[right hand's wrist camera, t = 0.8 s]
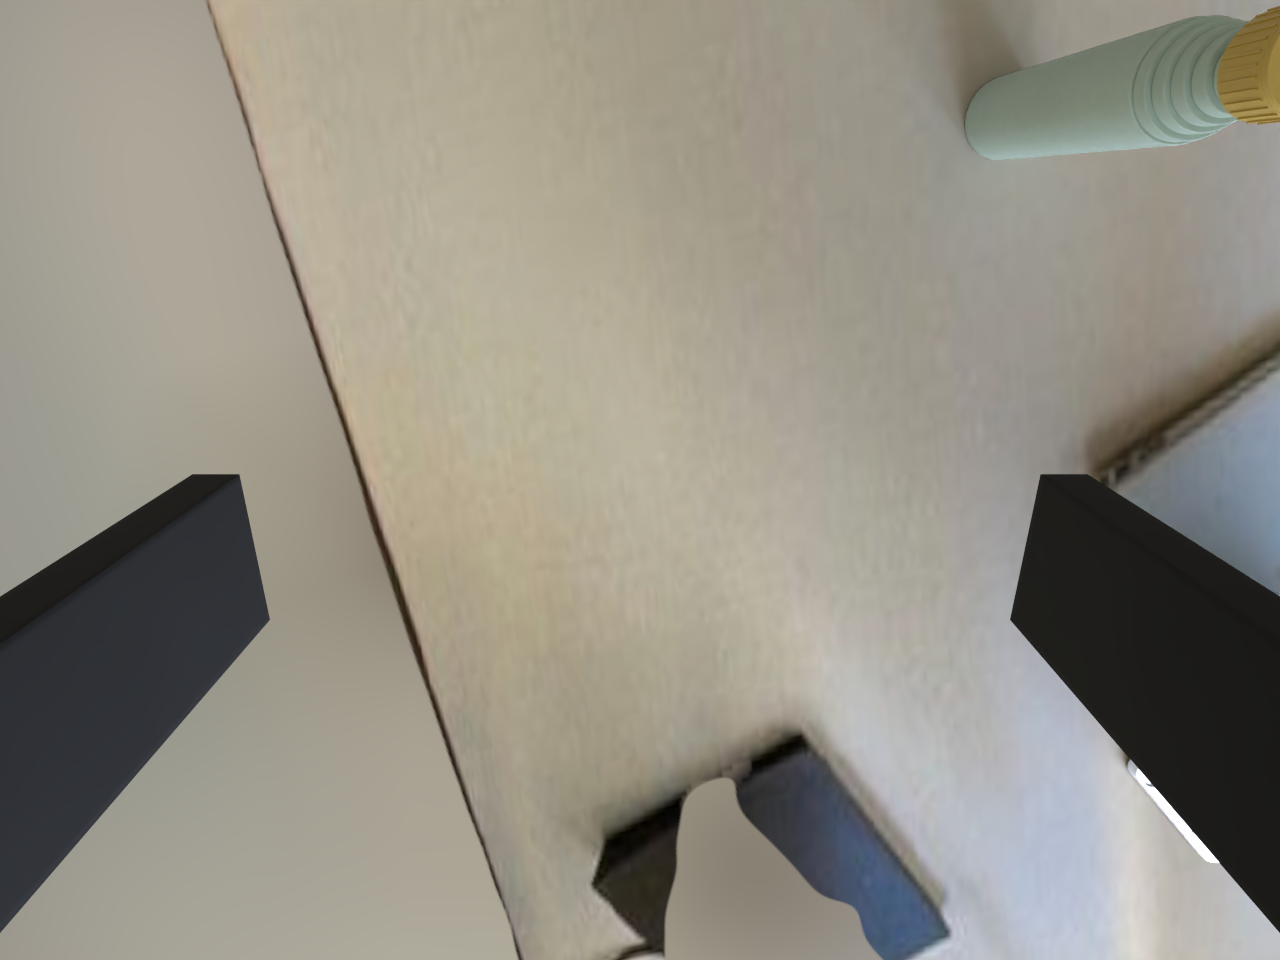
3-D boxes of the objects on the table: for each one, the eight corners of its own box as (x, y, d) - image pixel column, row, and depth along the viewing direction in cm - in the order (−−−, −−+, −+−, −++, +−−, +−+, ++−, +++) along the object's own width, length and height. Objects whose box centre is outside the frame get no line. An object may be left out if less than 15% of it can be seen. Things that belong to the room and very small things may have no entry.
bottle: (1054, 86, 46) (1420, -5, 25) (1022, 168, 48) (1339, 151, 26) (982, 66, 46) (1289, -44, 24) (952, 149, 48) (1215, 116, 26)
